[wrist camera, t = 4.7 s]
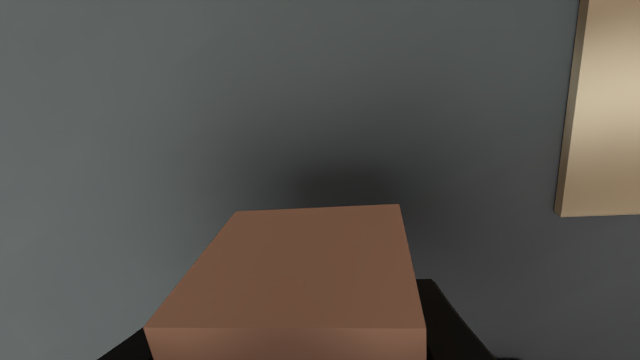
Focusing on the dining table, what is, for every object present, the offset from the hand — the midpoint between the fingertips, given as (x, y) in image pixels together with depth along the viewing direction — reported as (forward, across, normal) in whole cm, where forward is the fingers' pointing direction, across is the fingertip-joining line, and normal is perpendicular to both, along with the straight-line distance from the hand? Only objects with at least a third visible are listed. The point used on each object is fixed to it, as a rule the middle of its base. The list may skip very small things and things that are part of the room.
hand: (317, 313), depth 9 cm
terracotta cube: (+2, 0, 0) cm, 2 cm away
